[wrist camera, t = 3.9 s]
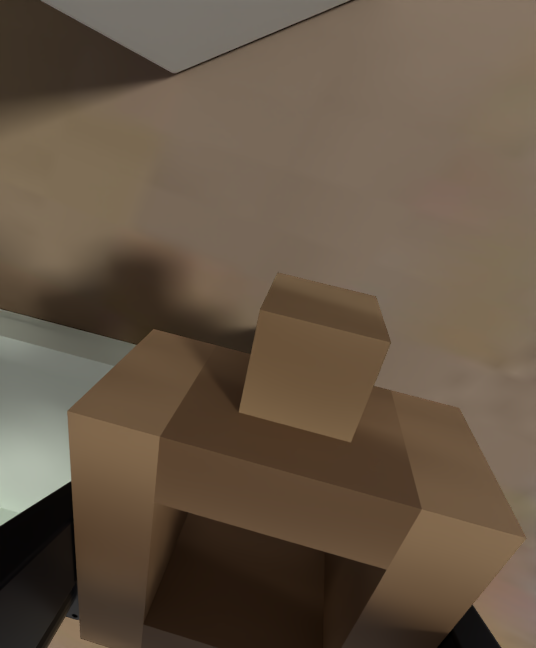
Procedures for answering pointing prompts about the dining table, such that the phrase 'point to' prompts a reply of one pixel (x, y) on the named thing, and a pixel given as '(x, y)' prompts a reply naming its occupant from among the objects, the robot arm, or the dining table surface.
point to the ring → (278, 491)
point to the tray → (43, 402)
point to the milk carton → (188, 24)
